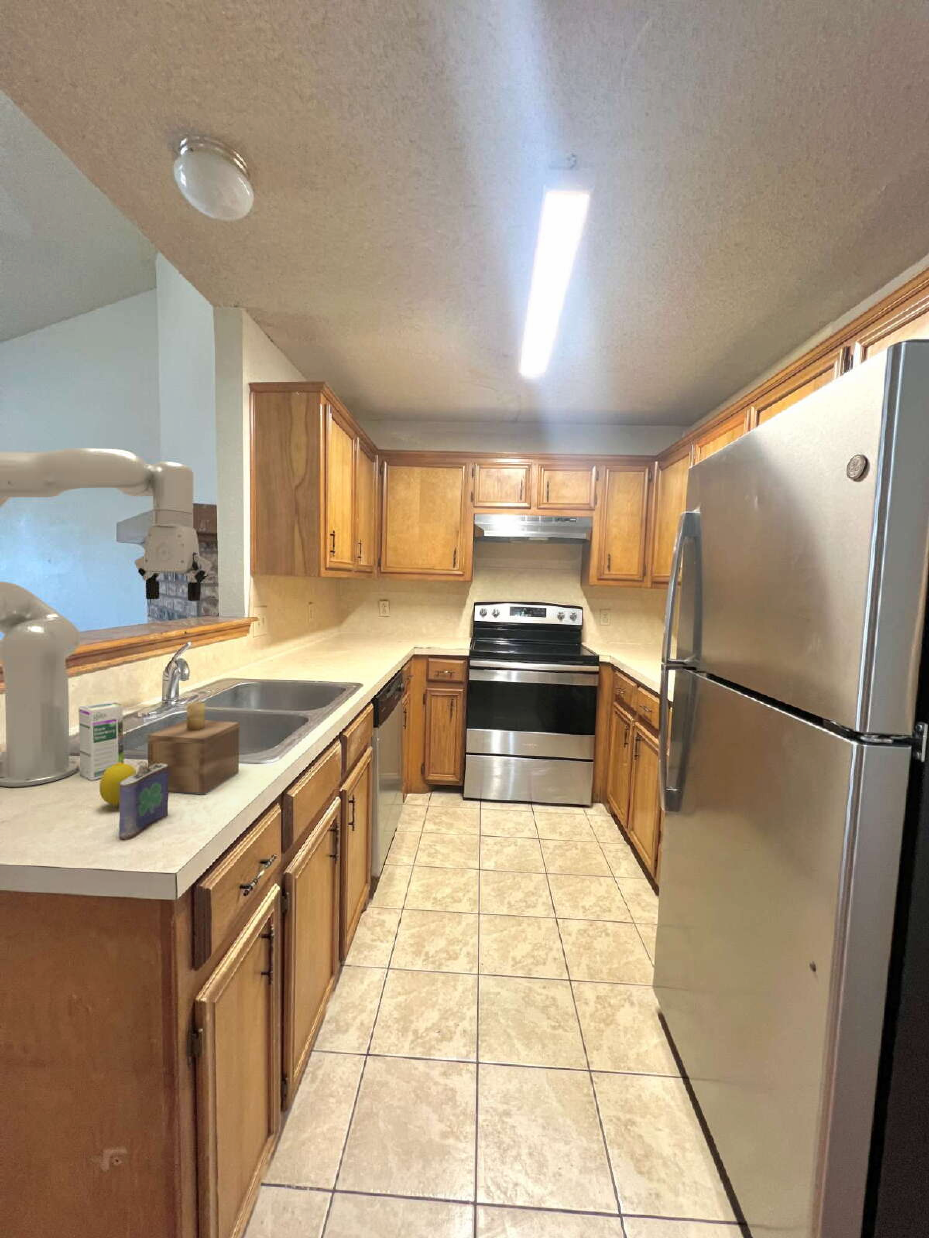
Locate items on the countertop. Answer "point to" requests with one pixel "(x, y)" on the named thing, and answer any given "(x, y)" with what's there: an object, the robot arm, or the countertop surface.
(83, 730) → the syrup box
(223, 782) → the mat
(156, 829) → the countertop surface
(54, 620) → the robot arm
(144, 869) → the countertop surface
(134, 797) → the flask
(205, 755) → the brown block with knob
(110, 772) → the lemon
